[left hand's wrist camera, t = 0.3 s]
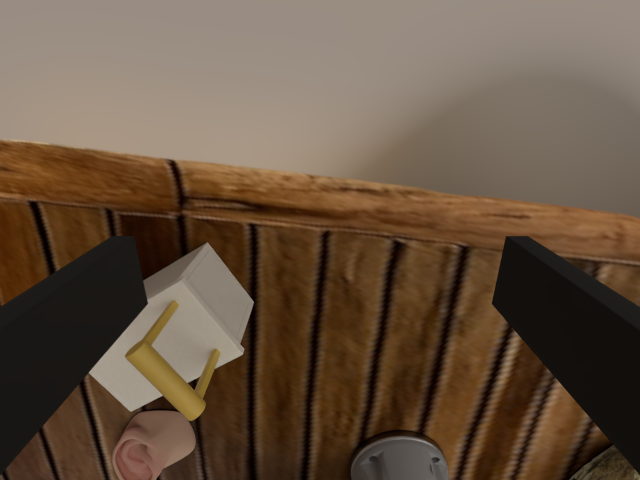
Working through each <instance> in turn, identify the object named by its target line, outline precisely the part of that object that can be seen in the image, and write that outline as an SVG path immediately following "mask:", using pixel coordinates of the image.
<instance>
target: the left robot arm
mask: <svg viewBox="0 0 640 480" xmlns="http://www.w3.org/2000/svg"><path fill="white" fill-rule="evenodd" d="M147 305H148V301H147V296H146V291H145V287H144V282H143V277H142V272H141V268H140V263H139V258H138V253H137V249H136V244H135V239H134V236H112V237H110V238H109V239H107V240H106V241H104V242H102V243H101V244H99V245H98V246H96V247H94V248H93V249H91V250H90V251H88V252H87V253H85V254H83V255H82V256H80V257H79V258H77V259H76V260H74V261H72V262H71V263H69V264H68V265H66V266H64V267H63V268H61V269H60V270H58V271H57V272H55V273H53V274H52V275H50V276H49V277H47V278H46V279H44V280H42V281H41V282H39V283H38V284H36V285H34V286H33V287H31V288H30V289H28V290H27V291H25V292H23V293H22V294H20V295H19V296H17V297H16V298H14V299H12V300H11V301H9V302H8V303H6V304H4V305H3V306H1V307H0V475H1V474H2V473H3V471H4V470H5V469H6V468H7V467H8V466H9V464H10V463H11V462H12V461H13V460H14V459H15V457H16V456H17V455H18V454H19V453H20V452H21V451H22V449H23V448H24V447H25V446H26V445H27V444H28V442H29V441H30V440H31V439H32V438H33V437H34V435H35V434H36V433H37V432H38V431H39V430H40V429H41V427H42V426H43V425H44V424H45V423H46V422H47V420H48V419H49V418H50V417H51V416H52V415H53V413H54V412H55V411H56V410H57V409H58V408H59V406H60V405H61V404H62V403H63V402H64V401H65V400H66V398H67V397H68V396H69V395H70V394H71V393H72V391H73V390H74V389H75V388H76V387H77V386H78V384H79V383H80V382H81V381H82V380H83V379H84V378H85V376H86V375H87V374H88V373H89V372H90V371H91V369H92V368H93V367H94V366H95V365H96V364H97V362H98V361H99V360H100V359H101V358H102V357H103V356H104V354H105V353H106V352H107V351H108V350H109V349H110V347H111V346H112V345H113V344H114V343H115V342H116V340H117V339H118V338H119V337H120V336H121V335H122V333H123V332H124V331H125V330H126V329H127V328H128V327H129V325H130V324H131V323H132V322H133V321H134V320H135V318H136V317H137V316H138V315H139V314H140V313H141V311H142V310H143V309H144V308H145V307H146V306H147ZM492 305H493V306H494V307H495V308H496V309H497V310H498V311H499V313H500V314H501V315H502V316H503V317H504V318H505V320H506V321H507V322H508V323H509V324H510V325H511V327H512V328H513V329H514V330H515V331H516V332H517V333H518V335H519V336H520V337H521V338H522V339H523V340H524V342H525V343H526V344H527V345H528V346H529V347H530V349H531V350H532V351H533V352H534V353H535V354H536V356H537V357H538V358H539V359H540V360H541V361H542V362H543V364H544V365H545V366H546V367H547V368H548V369H549V371H550V372H551V373H552V374H553V375H554V376H555V378H556V379H557V380H558V381H559V382H560V383H561V384H562V386H563V387H564V388H565V389H566V390H567V391H568V393H569V394H570V395H571V396H572V397H573V398H574V400H575V401H576V402H577V403H578V404H579V405H580V406H581V408H582V409H583V410H584V411H585V412H586V413H587V415H588V416H589V417H590V418H591V419H592V420H593V422H594V423H595V424H596V425H597V426H598V427H599V429H600V430H601V431H602V432H603V433H604V434H605V435H606V437H607V438H608V439H609V440H610V441H611V442H612V444H613V445H614V446H615V447H616V448H617V449H618V451H619V452H620V453H621V454H622V455H623V456H624V457H625V459H626V460H627V461H628V462H629V463H630V464H631V466H632V467H633V468H634V469H635V470H636V471H637V473H638V474H639V475H640V307H639V306H637V305H636V304H634V303H632V302H631V301H629V300H628V299H626V298H624V297H623V296H621V295H620V294H618V293H617V292H615V291H613V290H612V289H610V288H609V287H607V286H606V285H604V284H602V283H601V282H599V281H598V280H596V279H594V278H593V277H591V276H590V275H588V274H587V273H585V272H583V271H582V270H580V269H579V268H577V267H576V266H574V265H572V264H571V263H569V262H568V261H566V260H564V259H563V258H561V257H560V256H558V255H557V254H555V253H553V252H552V251H550V250H549V249H547V248H546V247H544V246H542V245H541V244H539V243H538V242H536V241H534V240H533V239H531V238H530V237H528V236H506V239H505V244H504V249H503V253H502V258H501V263H500V268H499V272H498V277H497V282H496V286H495V291H494V296H493V301H492ZM350 468H351V478H352V480H449V473H448V467H447V462H446V459H445V456H444V453H443V451H442V449H441V448H440V446H439V445H438V444H437V443H436V442H435V441H433V440H432V439H430V438H429V437H427V436H425V435H422V434H419V433H415V432H409V431H394V432H388V433H383V434H380V435H377V436H375V437H373V438H371V439H369V440H367V441H366V442H364V443H363V444H362V445H361V446H360V447H359V448H358V449H357V450H356V451H355V453H354V455H353V457H352V460H351V466H350Z"/></svg>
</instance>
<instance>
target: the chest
mask: <svg viewBox="0 0 640 480" xmlns="http://www.w3.org/2000/svg"><path fill="white" fill-rule="evenodd" d="M182 277H184V278H185V279H186V280H187V281H188V282H189V284H190V285H191V286H192V287H193V288H194V289H195V291H196V292H197V293H198V294H199V295H200V297H201V298H202V299H203V300H204V301H205V303H206V304H207V305H208V306H209V307H210V309H211V310H212V311H213V312H214V313H215V315H216V316H217V317H218V318H219V319H220V321H221V322H222V323H223V324H224V325H225V327H226V328H227V329H228V330H229V331H230V332H231V334H232V335H233V336H234V337H235V338H236V340H237V341H238V342H239V343H241V340H242V337H243V334H244V331H245V328H246V325H247V322H248V319H249V316H250V313H251V310H252V307H253V304H254V301H253V300H252V299H251V298H250V296H249V295H248V294H247V292H246V291H245V290H244V289H243V287H242V286H241V285H240V283H239V282H238V281H237V280H236V278H235V277H234V276H233V274H232V273H231V272H230V271H229V269H228V268H227V267H226V265H225V264H224V263H223V262H222V260H221V259H220V258H219V256H218V255H217V254H216V253H215V251H214V250H213V249H212V247H211V246H210V245H209V244H208V242H207V243H205V244H204V245H202V246H200V247H199V248H197V249H195V250H194V251H192V252H190V253H189V254H187V255H185V256H184V257H182V258H180V259H179V260H177V261H175V262H174V263H172V264H170V265H169V266H167V267H165V268H164V269H162V270H160V271H159V272H157V273H155V274H154V275H152V276H150V277H149V278H147V279H145V280H144V281H143V282H144V287H145V291H146V296H147V298H148V297H150V296H151V295H153V294H155V293H156V292H158V291H160V290H161V289H163V288H165V287H167V286H168V285H170V284H172V283H173V282H175V281H177V280H179V279H180V278H182Z"/></svg>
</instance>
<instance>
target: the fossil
mask: <svg viewBox="0 0 640 480" xmlns="http://www.w3.org/2000/svg"><path fill="white" fill-rule="evenodd" d="M569 480H640V475H639V474H638V473H637V471H636V470H635V469H634V468H633V467H632V466H631V464H630V463H629V462H628V461H627V460H626V459H625V457H624V456H623V455H622V454H621V453H620V452H619V451H618V449H617V448H616V447H615V446H614V445H612V446H611V447H610V448H609V449H607V450H605V451H604V452H602V453H601V454H600V455H598V456H597V457H595V458H593V460H592V461H591V462H590V463H588V464H586V465H584V466H583V467H582V468H581V469H580V470H579V471H578V472H576V473H575V474H574V475H573V476H572V477H571V478H570V479H569Z"/></svg>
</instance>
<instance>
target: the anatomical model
mask: <svg viewBox="0 0 640 480" xmlns="http://www.w3.org/2000/svg"><path fill="white" fill-rule="evenodd" d="M195 444H196V439H195V434H194V431H193V428H192V426H191V424H190V422H189V421H188V420H187V419H186V418H185V417H184V416H183V415H182V414H181V413H180V412H176V411H165V410H155V411H145V412H141V413H138V414H137V415H135V416H134V417H133V419H132V420H131V421H130V422H129V424H128V425H127V427H126V429H125V431H124V433H123V435H122V436H121V438H120V440H119V441H118V443H117V444H116V446H115V448H114V450H113V454H112V462H113V467H114V469H115V472H116V474H117V476H118V477H119V479H120V480H156V478H157V477H158V476H159V474H160V473H161V471H162V469H163V468H165V467H167V466H169V465H171V464H173V463H175V462H177V461H179V460H180V459H182V458H184V457H185V456H187V455H188V454H190V453H191V452H192V451H193V449H194V448H195Z"/></svg>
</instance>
